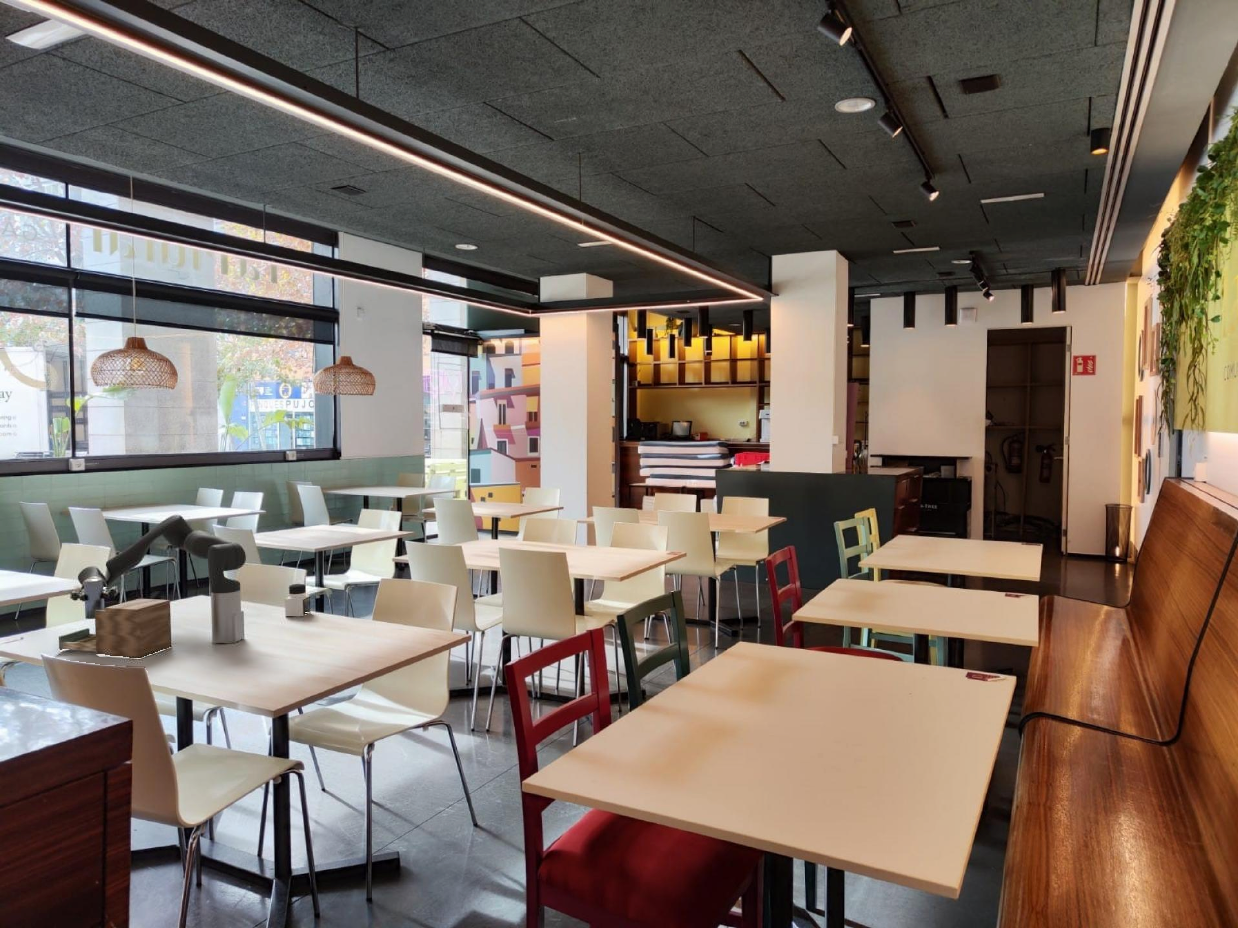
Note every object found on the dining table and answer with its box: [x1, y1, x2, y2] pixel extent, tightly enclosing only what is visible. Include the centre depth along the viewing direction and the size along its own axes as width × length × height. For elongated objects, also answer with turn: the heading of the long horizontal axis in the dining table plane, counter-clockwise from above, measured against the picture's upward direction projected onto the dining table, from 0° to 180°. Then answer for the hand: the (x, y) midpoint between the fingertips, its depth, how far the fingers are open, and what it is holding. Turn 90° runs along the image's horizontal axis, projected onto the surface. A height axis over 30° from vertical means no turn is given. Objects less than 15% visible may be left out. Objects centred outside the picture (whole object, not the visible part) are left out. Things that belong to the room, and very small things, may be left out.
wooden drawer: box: [58, 628, 96, 652], centre depth 278 cm, size 17×11×5 cm, turn 77°
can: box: [84, 579, 105, 620], centre depth 278 cm, size 5×5×12 cm
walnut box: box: [94, 598, 173, 659], centre depth 274 cm, size 16×14×16 cm
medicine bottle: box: [284, 583, 311, 617], centre depth 325 cm, size 7×7×12 cm
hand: (94, 597), depth 276 cm, fingers closed on can, 5 cm apart
